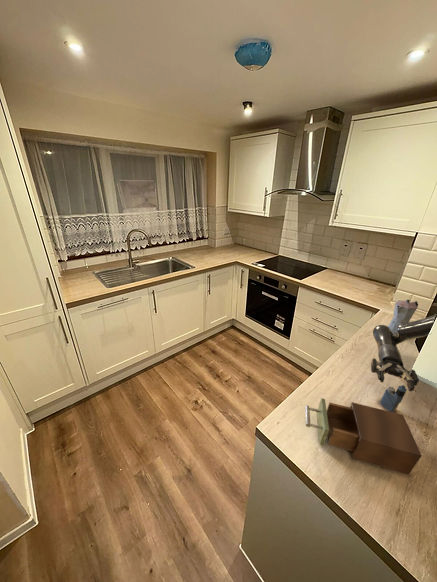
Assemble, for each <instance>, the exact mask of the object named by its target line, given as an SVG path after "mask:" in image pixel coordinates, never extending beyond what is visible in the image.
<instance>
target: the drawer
mask: <svg viewBox="0 0 437 582" xmlns="http://www.w3.org/2000/svg"><path fill="white" fill-rule="evenodd" d="M311 411H312V412H316V420H317V424H315V423H314V424H313V423H311V413H310V412H311ZM304 415H305V417H304V418H305V427H307V428H311V427H312V428H314V429H315V428H316V429H317V431H318V433H317V434H318V442H319V443H318V445H319V446H323V447H324V446H325V444H326V440H327V444H328V445H330V446H333V447H335V448H339V449H342V450H347V451H350V452H351V451H354V449H355V447H356V445H357V443H358V441H359V438H360V437H359V433H358V429H357V425H356V421H355V417H354V414H353V410H352V408H350V406H345V405H341V404H339V403H338V404H337V403H334V402H331V401H329V403H328V406H327V404H326V398H322V397H321V398H320V401H319V403H318V407H317V408H314V407H310V406H309V405H304Z"/></svg>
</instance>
